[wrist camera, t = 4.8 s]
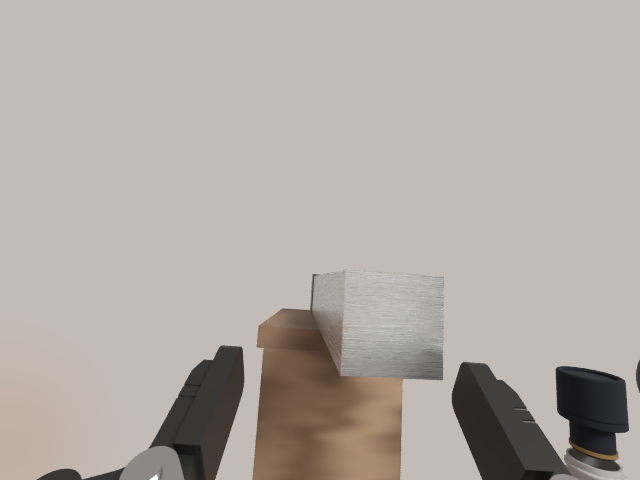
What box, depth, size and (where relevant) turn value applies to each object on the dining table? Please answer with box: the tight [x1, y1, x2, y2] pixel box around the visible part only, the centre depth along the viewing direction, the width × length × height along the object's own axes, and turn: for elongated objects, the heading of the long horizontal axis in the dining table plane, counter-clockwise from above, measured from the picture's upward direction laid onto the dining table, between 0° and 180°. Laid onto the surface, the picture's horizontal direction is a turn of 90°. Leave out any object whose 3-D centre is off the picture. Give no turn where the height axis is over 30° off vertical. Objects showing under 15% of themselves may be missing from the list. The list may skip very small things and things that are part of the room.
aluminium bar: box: [310, 270, 444, 380], centre depth 24 cm, size 4×24×4 cm, turn 4°
